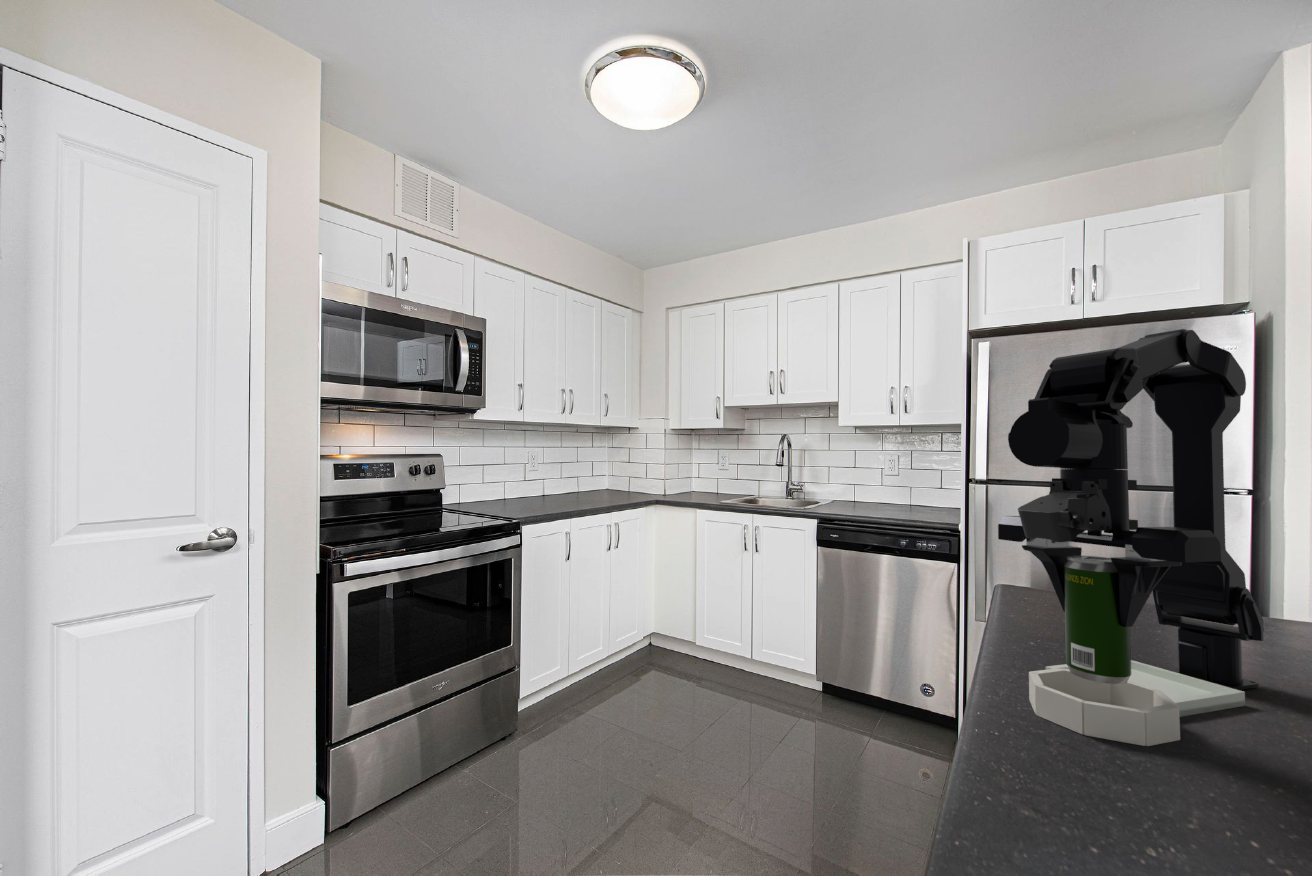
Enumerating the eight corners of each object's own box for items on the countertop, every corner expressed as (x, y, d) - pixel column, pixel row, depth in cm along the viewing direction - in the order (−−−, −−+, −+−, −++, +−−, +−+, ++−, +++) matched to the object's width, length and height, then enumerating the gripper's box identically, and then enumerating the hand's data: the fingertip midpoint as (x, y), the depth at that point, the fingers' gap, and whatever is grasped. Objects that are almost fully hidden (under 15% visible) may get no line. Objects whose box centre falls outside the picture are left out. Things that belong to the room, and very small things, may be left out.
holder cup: (1081, 692, 67) (1080, 665, 67) (1203, 735, 56) (1202, 703, 56) (1006, 702, 63) (1006, 674, 63) (1121, 751, 52) (1120, 716, 52)
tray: (1123, 669, 76) (1122, 657, 76) (1245, 705, 64) (1244, 691, 64) (1045, 679, 71) (1045, 666, 71) (1161, 720, 59) (1161, 705, 60)
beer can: (1119, 688, 56) (1116, 563, 57) (1056, 672, 61) (1054, 556, 61) (1140, 679, 59) (1136, 560, 60) (1079, 664, 64) (1076, 553, 64)
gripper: (961, 467, 67) (962, 603, 66) (1140, 467, 50) (1146, 652, 49) (1031, 470, 71) (1033, 599, 70) (1221, 470, 53) (1228, 642, 52)
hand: (1096, 619), depth 60 cm, fingers closed on beer can, 5 cm apart
